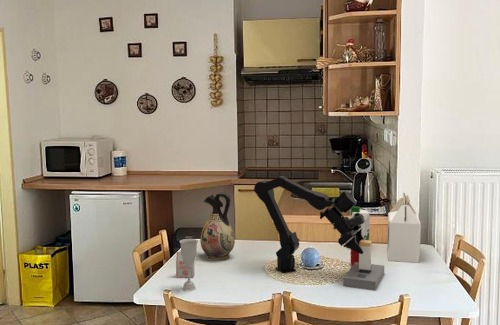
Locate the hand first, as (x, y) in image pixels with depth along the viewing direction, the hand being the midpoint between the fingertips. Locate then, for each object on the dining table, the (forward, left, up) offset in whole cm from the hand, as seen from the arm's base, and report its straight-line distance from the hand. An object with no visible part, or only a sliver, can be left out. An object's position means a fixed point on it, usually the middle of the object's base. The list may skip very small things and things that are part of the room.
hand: (364, 250), depth 212 cm
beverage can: (+10, +16, -12) cm, 22 cm away
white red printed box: (-61, +36, -12) cm, 72 cm away
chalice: (-65, +22, -12) cm, 70 cm away
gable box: (+39, +20, -12) cm, 45 cm away
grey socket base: (0, 0, -12) cm, 12 cm away
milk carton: (+29, +39, -12) cm, 50 cm away
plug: (0, 0, -7) cm, 7 cm away
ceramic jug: (-38, +54, -12) cm, 67 cm away
